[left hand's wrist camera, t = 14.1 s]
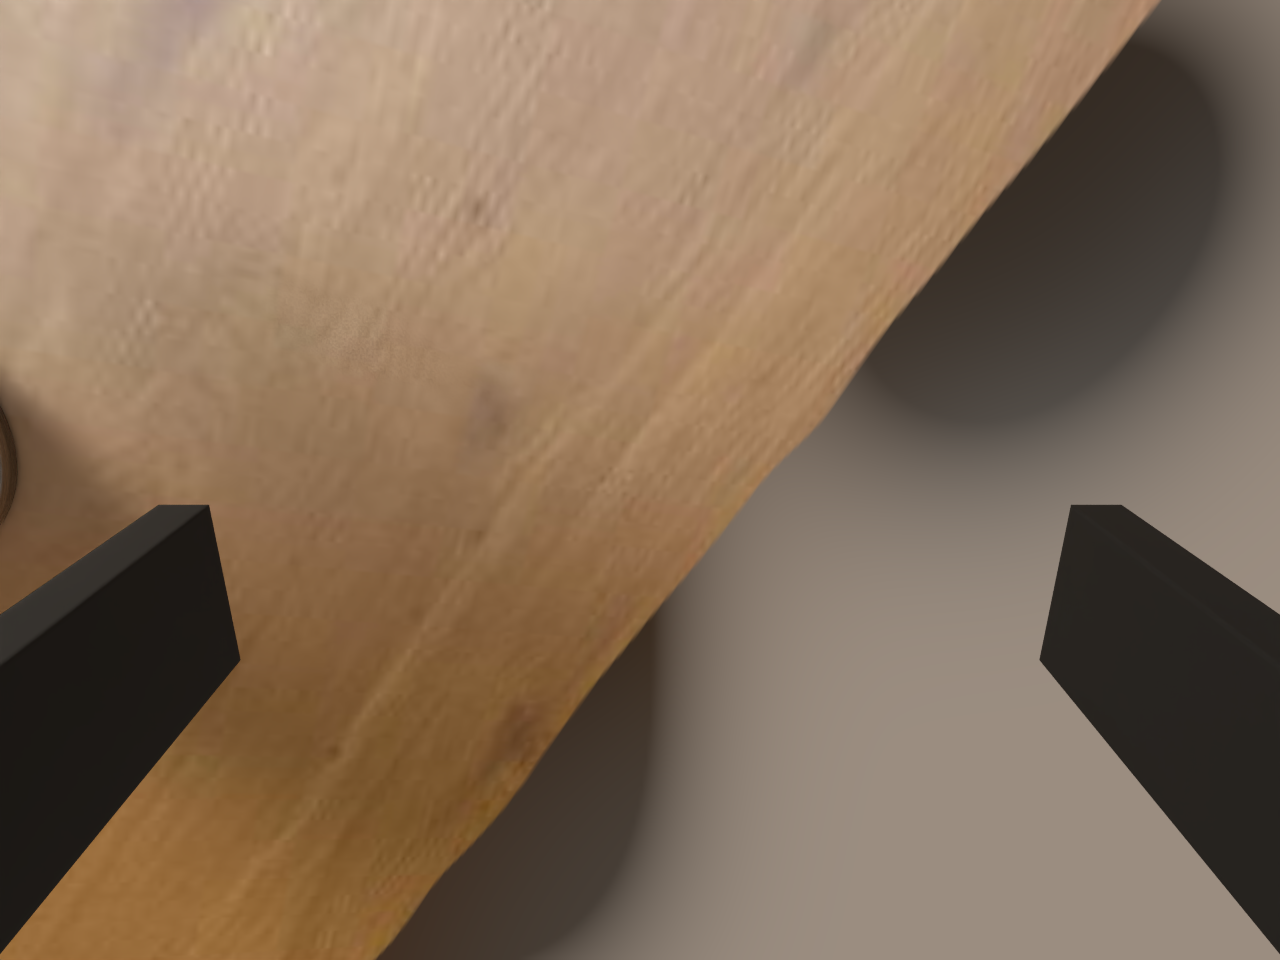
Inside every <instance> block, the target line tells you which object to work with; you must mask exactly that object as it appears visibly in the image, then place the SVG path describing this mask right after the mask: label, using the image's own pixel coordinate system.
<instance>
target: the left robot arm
mask: <svg viewBox="0 0 1280 960" xmlns="http://www.w3.org/2000/svg"><path fill="white" fill-rule="evenodd" d="M16 481H17V460H16V452H15V446H14V442H13V438H12V434H11V431H10V428H9V425H8V422H7V420H6V418H5V416H4V413H3V411H2V409H1V407H0V525H1V523H2V522H3V520H4V519H5V517H6V515H7V513H8V511H9V509H10V506H11V503H12V501H13V498H14V493H15V488H16ZM239 661H240V655H239V650H238V645H237V640H236V636H235V631H234V626H233V621H232V616H231V611H230V606H229V601H228V596H227V591H226V586H225V581H224V577H223V572H222V567H221V562H220V557H219V552H218V547H217V542H216V537H215V532H214V527H213V523H212V518H211V513H210V508H209V505H158V506H156V507H155V508H153V509H152V510H151V511H149V512H148V513H146V514H145V515H143V516H142V517H140V518H139V519H138V520H136V521H135V522H133V523H132V524H130V525H129V526H127V527H126V528H125V529H123V530H122V531H120V532H119V533H117V534H116V535H114V536H113V537H112V538H110V539H109V540H107V541H106V542H104V543H103V544H101V545H100V546H99V547H97V548H96V549H94V550H93V551H91V552H90V553H88V554H87V555H86V556H84V557H83V558H81V559H80V560H78V561H77V562H76V563H74V564H73V565H71V566H70V567H68V568H67V569H65V570H64V571H63V572H61V573H60V574H58V575H57V576H55V577H54V578H52V579H51V580H50V581H48V582H47V583H45V584H44V585H42V586H41V587H39V588H38V589H37V590H35V591H34V592H32V593H31V594H29V595H28V596H26V597H25V598H24V599H22V600H21V601H19V602H18V603H16V604H15V605H13V606H12V607H11V608H9V609H8V610H6V611H5V612H3V613H2V614H0V954H1V952H2V951H3V950H4V949H5V947H6V946H7V945H8V944H9V943H10V941H11V940H12V939H13V938H14V936H15V935H16V934H17V933H18V932H19V930H20V929H21V928H22V927H23V925H24V924H25V923H26V922H27V921H28V919H29V918H30V917H31V916H32V914H33V913H34V912H35V911H36V910H37V908H38V907H39V906H40V905H41V903H42V902H43V901H44V900H45V899H46V897H47V896H48V895H49V894H50V892H51V891H52V890H53V889H54V888H55V886H56V885H57V884H58V883H59V881H60V880H61V879H62V878H63V876H64V875H65V874H66V873H67V872H68V870H69V869H70V868H71V867H72V865H73V864H74V863H75V862H76V861H77V859H78V858H79V857H80V856H81V854H82V853H83V852H84V851H85V850H86V848H87V847H88V846H89V845H90V843H91V842H92V841H93V840H94V839H95V837H96V836H97V835H98V834H99V832H100V831H101V830H102V829H103V828H104V826H105V825H106V824H107V823H108V821H109V820H110V819H111V818H112V817H113V815H114V814H115V813H116V812H117V810H118V809H119V808H120V807H121V806H122V804H123V803H124V802H125V801H126V799H127V798H128V797H129V796H130V795H131V793H132V792H133V791H134V790H135V788H136V787H137V786H138V785H139V784H140V782H141V781H142V780H143V779H144V777H145V776H146V775H147V774H148V773H149V771H150V770H151V769H152V768H153V766H154V765H155V764H156V763H157V762H158V760H159V759H160V758H161V757H162V755H163V754H164V753H165V752H166V751H167V749H168V748H169V747H170V746H171V744H172V743H173V742H174V741H175V739H176V738H177V737H178V736H179V735H180V733H181V732H182V731H183V730H184V728H185V727H186V726H187V725H188V724H189V722H190V721H191V720H192V719H193V717H194V716H195V715H196V714H197V713H198V711H199V710H200V709H201V708H202V706H203V705H204V704H205V703H206V702H207V700H208V699H209V698H210V697H211V695H212V694H213V693H214V692H215V691H216V689H217V688H218V687H219V686H220V684H221V683H222V682H223V681H224V680H225V678H226V677H227V676H228V675H229V673H230V672H231V671H232V670H233V669H234V667H235V666H236V665H237V664H238V662H239ZM1040 661H1041V662H1042V664H1043V665H1044V666H1045V667H1046V669H1047V670H1048V671H1049V672H1050V673H1051V675H1052V676H1053V677H1054V678H1055V680H1056V681H1057V682H1058V683H1059V684H1060V686H1061V687H1062V688H1063V689H1064V691H1065V692H1066V693H1067V694H1068V695H1069V697H1070V698H1071V699H1072V700H1073V702H1074V703H1075V704H1076V705H1077V706H1078V708H1079V709H1080V710H1081V711H1082V713H1083V714H1084V715H1085V716H1086V717H1087V719H1088V720H1089V721H1090V722H1091V724H1092V725H1093V726H1094V727H1095V728H1096V730H1097V731H1098V732H1099V733H1100V735H1101V736H1102V737H1103V738H1104V739H1105V741H1106V742H1107V743H1108V744H1109V746H1110V747H1111V748H1112V749H1113V751H1114V752H1115V753H1116V754H1117V755H1118V757H1119V758H1120V759H1121V760H1122V761H1123V763H1124V764H1125V765H1126V766H1127V768H1128V769H1129V770H1130V771H1131V773H1132V774H1133V775H1134V776H1135V777H1136V779H1137V780H1138V781H1139V782H1140V784H1141V785H1142V786H1143V787H1144V788H1145V790H1146V791H1147V792H1148V793H1149V795H1150V796H1151V797H1152V798H1153V799H1154V801H1155V802H1156V803H1157V804H1158V806H1159V807H1160V808H1161V809H1162V810H1163V812H1164V813H1165V814H1166V815H1167V817H1168V818H1169V819H1170V820H1171V821H1172V823H1173V824H1174V825H1175V826H1176V828H1177V829H1178V830H1179V831H1180V832H1181V834H1182V835H1183V836H1184V837H1185V839H1186V840H1187V841H1188V842H1189V843H1190V845H1191V846H1192V847H1193V848H1194V850H1195V851H1196V852H1197V853H1198V854H1199V856H1200V857H1201V858H1202V859H1203V861H1204V862H1205V863H1206V864H1207V865H1208V867H1209V868H1210V869H1211V870H1212V872H1213V873H1214V874H1215V875H1216V876H1217V878H1218V879H1219V880H1220V881H1221V883H1222V884H1223V885H1224V886H1225V887H1226V889H1227V890H1228V891H1229V892H1230V894H1231V895H1232V896H1233V897H1234V899H1235V900H1236V901H1237V902H1238V903H1239V905H1240V906H1241V907H1242V908H1243V910H1244V911H1245V912H1246V913H1247V914H1248V916H1249V917H1250V918H1251V919H1252V921H1253V922H1254V923H1255V924H1256V925H1257V927H1258V928H1259V929H1260V930H1261V931H1262V933H1263V934H1264V935H1265V936H1266V938H1267V939H1268V940H1269V941H1270V943H1271V944H1272V945H1273V946H1274V947H1275V949H1276V950H1277V951H1278V952H1279V954H1280V614H1278V613H1277V612H1275V611H1274V610H1272V609H1271V608H1269V607H1268V606H1267V605H1265V604H1264V603H1262V602H1261V601H1259V600H1258V599H1256V598H1255V597H1254V596H1252V595H1251V594H1249V593H1248V592H1246V591H1245V590H1243V589H1242V588H1241V587H1239V586H1238V585H1236V584H1235V583H1233V582H1232V581H1230V580H1229V579H1228V578H1226V577H1225V576H1223V575H1222V574H1220V573H1219V572H1217V571H1216V570H1215V569H1213V568H1212V567H1210V566H1209V565H1207V564H1206V563H1204V562H1203V561H1202V560H1200V559H1199V558H1197V557H1196V556H1194V555H1193V554H1191V553H1190V552H1189V551H1187V550H1186V549H1184V548H1183V547H1181V546H1180V545H1179V544H1177V543H1176V542H1174V541H1173V540H1171V539H1170V538H1168V537H1167V536H1166V535H1164V534H1163V533H1161V532H1160V531H1158V530H1157V529H1155V528H1154V527H1153V526H1151V525H1150V524H1148V523H1147V522H1145V521H1144V520H1142V519H1141V518H1139V517H1138V516H1137V515H1135V514H1134V513H1132V512H1131V511H1129V510H1128V509H1127V508H1125V507H1124V506H1122V505H1071V508H1070V513H1069V518H1068V523H1067V527H1066V532H1065V537H1064V542H1063V547H1062V552H1061V557H1060V562H1059V567H1058V572H1057V577H1056V581H1055V586H1054V591H1053V596H1052V601H1051V606H1050V611H1049V616H1048V621H1047V626H1046V631H1045V636H1044V640H1043V645H1042V650H1041V655H1040Z"/></svg>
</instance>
